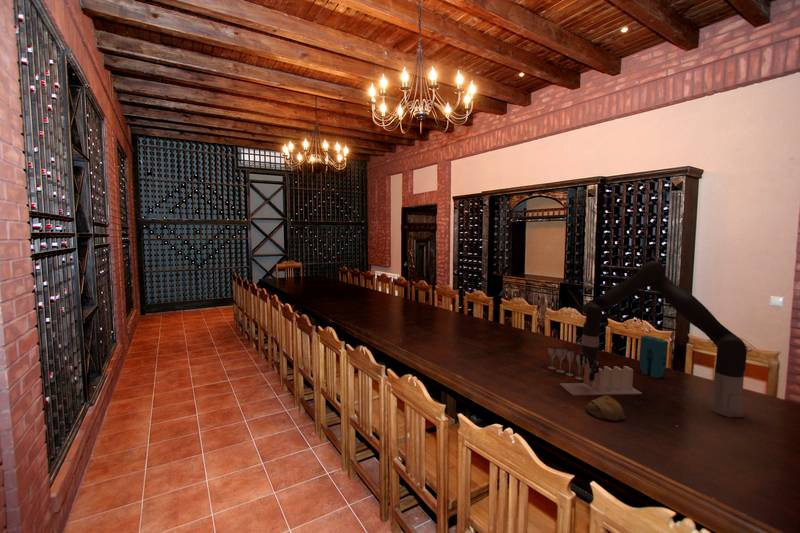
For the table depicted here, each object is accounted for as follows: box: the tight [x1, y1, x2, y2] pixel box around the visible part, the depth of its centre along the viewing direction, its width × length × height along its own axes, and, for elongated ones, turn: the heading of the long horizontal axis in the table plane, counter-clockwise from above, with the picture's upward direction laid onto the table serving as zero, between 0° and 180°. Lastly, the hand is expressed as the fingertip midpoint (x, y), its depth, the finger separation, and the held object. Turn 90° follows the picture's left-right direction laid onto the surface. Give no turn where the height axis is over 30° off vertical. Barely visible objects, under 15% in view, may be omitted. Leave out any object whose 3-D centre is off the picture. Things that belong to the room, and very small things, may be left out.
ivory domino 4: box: [622, 365, 634, 390], centre depth 184 cm, size 5×2×10 cm, turn 4°
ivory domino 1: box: [593, 367, 604, 390], centre depth 183 cm, size 5×2×10 cm, turn 4°
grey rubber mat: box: [559, 382, 643, 397], centre depth 184 cm, size 13×34×1 cm, turn 94°
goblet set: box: [547, 346, 593, 380], centre depth 202 cm, size 28×6×13 cm, turn 29°
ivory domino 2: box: [603, 365, 614, 390], centre depth 184 cm, size 5×2×10 cm, turn 4°
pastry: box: [585, 395, 626, 422], centre depth 158 cm, size 14×12×8 cm
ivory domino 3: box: [612, 365, 623, 390], centre depth 184 cm, size 5×2×10 cm, turn 4°
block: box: [639, 335, 669, 379], centre depth 202 cm, size 12×5×20 cm, turn 21°
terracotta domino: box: [583, 363, 593, 387], centre depth 183 cm, size 5×2×10 cm, turn 4°
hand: (588, 377), depth 183 cm, fingers closed on terracotta domino, 5 cm apart
